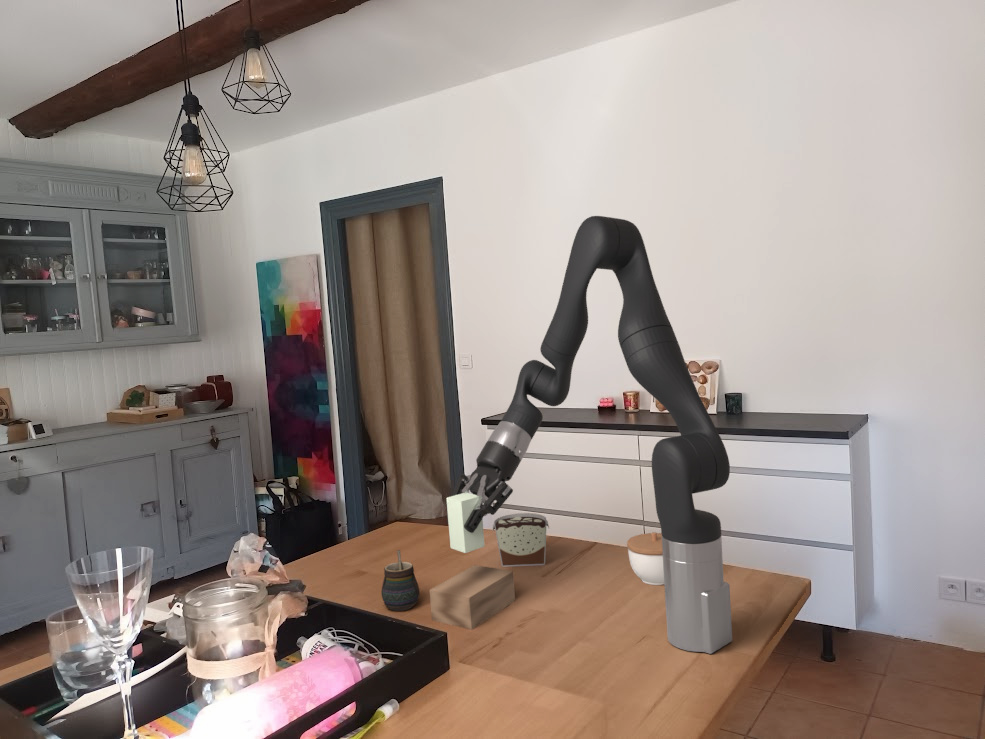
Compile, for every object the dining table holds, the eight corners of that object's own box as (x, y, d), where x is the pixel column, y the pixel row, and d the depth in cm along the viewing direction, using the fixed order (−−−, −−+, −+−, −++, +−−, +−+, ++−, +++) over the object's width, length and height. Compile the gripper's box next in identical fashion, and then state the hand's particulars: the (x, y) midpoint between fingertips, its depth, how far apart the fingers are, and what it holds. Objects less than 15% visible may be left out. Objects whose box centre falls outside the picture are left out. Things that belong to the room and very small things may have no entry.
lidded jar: (671, 593, 138) (668, 544, 138) (619, 584, 145) (616, 537, 144) (693, 574, 147) (690, 528, 146) (643, 566, 153) (641, 522, 153)
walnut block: (515, 602, 141) (513, 571, 140) (471, 631, 129) (469, 597, 129) (477, 594, 146) (474, 564, 145) (432, 621, 134) (429, 589, 134)
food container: (552, 555, 165) (549, 511, 164) (552, 564, 159) (548, 519, 158) (497, 557, 166) (494, 513, 165) (495, 567, 160) (491, 521, 159)
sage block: (484, 546, 136) (480, 496, 135) (465, 553, 133) (461, 501, 132) (469, 541, 140) (465, 492, 139) (450, 548, 137) (446, 497, 136)
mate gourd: (385, 617, 137) (380, 565, 137) (380, 602, 145) (375, 552, 144) (423, 610, 139) (419, 558, 139) (416, 596, 147) (412, 547, 146)
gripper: (469, 436, 145) (423, 510, 139) (517, 442, 134) (471, 524, 128) (491, 457, 149) (448, 531, 142) (541, 465, 138) (496, 546, 132)
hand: (459, 527), depth 135 cm, fingers closed on sage block, 4 cm apart
